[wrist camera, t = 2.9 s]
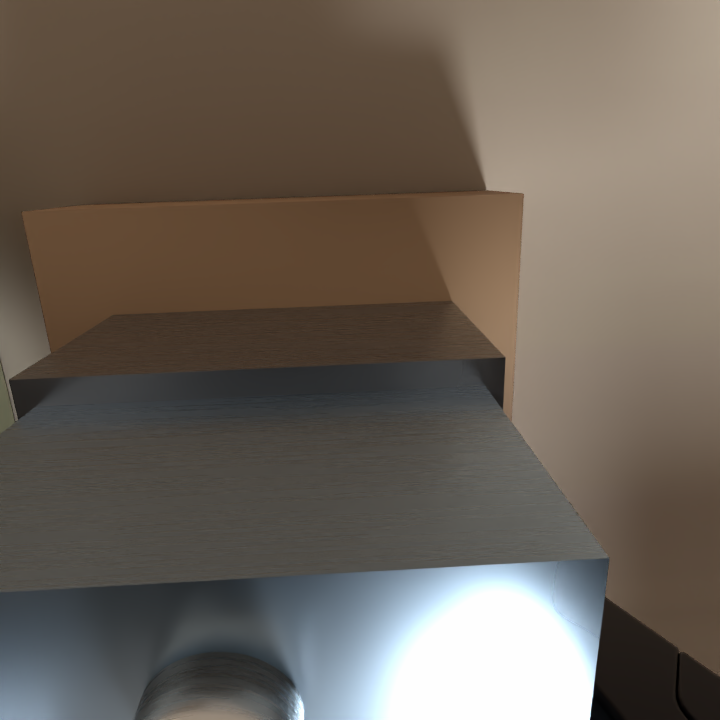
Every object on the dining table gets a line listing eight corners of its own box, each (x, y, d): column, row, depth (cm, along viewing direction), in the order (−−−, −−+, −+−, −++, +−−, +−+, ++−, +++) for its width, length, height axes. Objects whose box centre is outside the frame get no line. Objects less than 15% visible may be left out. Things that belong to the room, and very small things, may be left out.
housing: (445, 667, 11) (583, 1278, 5) (176, 684, 10) (-26, 1336, 5) (451, 300, 8) (719, 585, 3) (113, 315, 8) (-428, 650, 2)
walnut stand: (471, 644, 13) (495, 724, 11) (163, 662, 13) (134, 747, 11) (487, 190, 10) (523, 193, 8) (82, 204, 10) (21, 212, 8)
